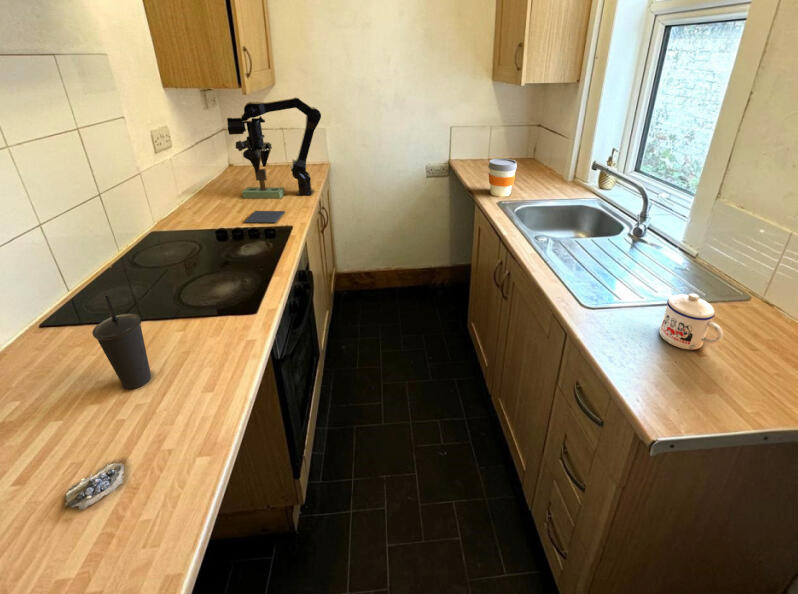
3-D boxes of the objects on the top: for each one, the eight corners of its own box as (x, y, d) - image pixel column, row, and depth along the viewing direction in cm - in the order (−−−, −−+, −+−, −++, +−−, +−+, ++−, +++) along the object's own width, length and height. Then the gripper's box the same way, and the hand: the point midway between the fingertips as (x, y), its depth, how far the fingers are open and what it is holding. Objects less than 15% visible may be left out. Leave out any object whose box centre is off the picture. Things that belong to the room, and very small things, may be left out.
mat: (255, 212, 171) (255, 210, 171) (284, 212, 171) (284, 211, 171) (244, 223, 160) (243, 221, 160) (275, 223, 160) (274, 221, 160)
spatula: (260, 195, 191) (256, 168, 186) (269, 195, 191) (265, 168, 186) (258, 196, 189) (254, 169, 184) (268, 196, 189) (263, 169, 184)
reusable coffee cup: (519, 194, 192) (523, 162, 186) (500, 199, 186) (503, 166, 180) (500, 187, 202) (502, 157, 195) (481, 192, 195) (483, 160, 189)
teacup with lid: (649, 333, 98) (662, 291, 93) (672, 322, 102) (685, 280, 97) (703, 364, 88) (720, 318, 83) (725, 349, 92) (742, 305, 88)
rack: (248, 193, 194) (247, 187, 192) (284, 193, 193) (284, 187, 192) (242, 198, 187) (241, 191, 186) (280, 198, 187) (279, 192, 186)
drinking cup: (110, 400, 79) (74, 312, 71) (118, 374, 85) (86, 290, 77) (156, 388, 82) (127, 302, 74) (161, 363, 88) (134, 282, 80)
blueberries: (54, 506, 61) (49, 498, 60) (102, 458, 68) (98, 450, 67) (92, 516, 59) (88, 508, 58) (137, 466, 66) (134, 458, 66)
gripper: (244, 129, 185) (250, 164, 192) (227, 137, 168) (234, 175, 175) (269, 129, 185) (274, 164, 192) (254, 137, 168) (260, 175, 175)
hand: (260, 169), depth 183 cm, fingers open, 9 cm apart
